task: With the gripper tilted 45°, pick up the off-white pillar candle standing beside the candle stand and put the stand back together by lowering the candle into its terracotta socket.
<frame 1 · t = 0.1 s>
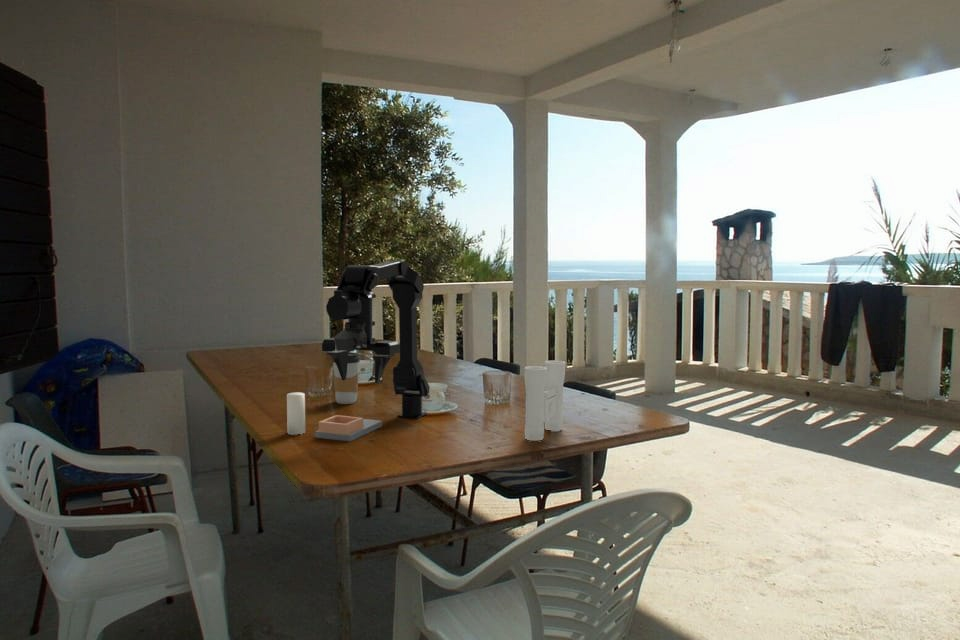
hand: (360, 381, 161), 15 cm above the table, tool pointing down, fingers open, 9 cm apart
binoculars: (544, 434, 170), on the table
candle: (296, 432, 169), on the table
coffee cup: (346, 402, 206), on the table
candle stand: (349, 431, 170), on the table
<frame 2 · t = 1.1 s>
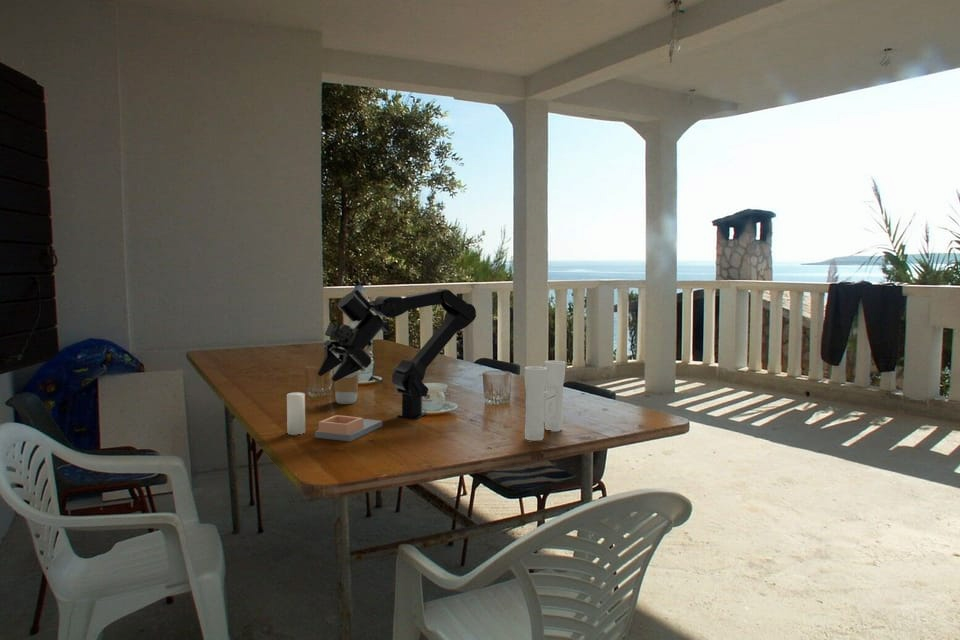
hand: (325, 377, 172), 13 cm above the table, tool tilted 45°, fingers open, 9 cm apart
nothing on the table moved.
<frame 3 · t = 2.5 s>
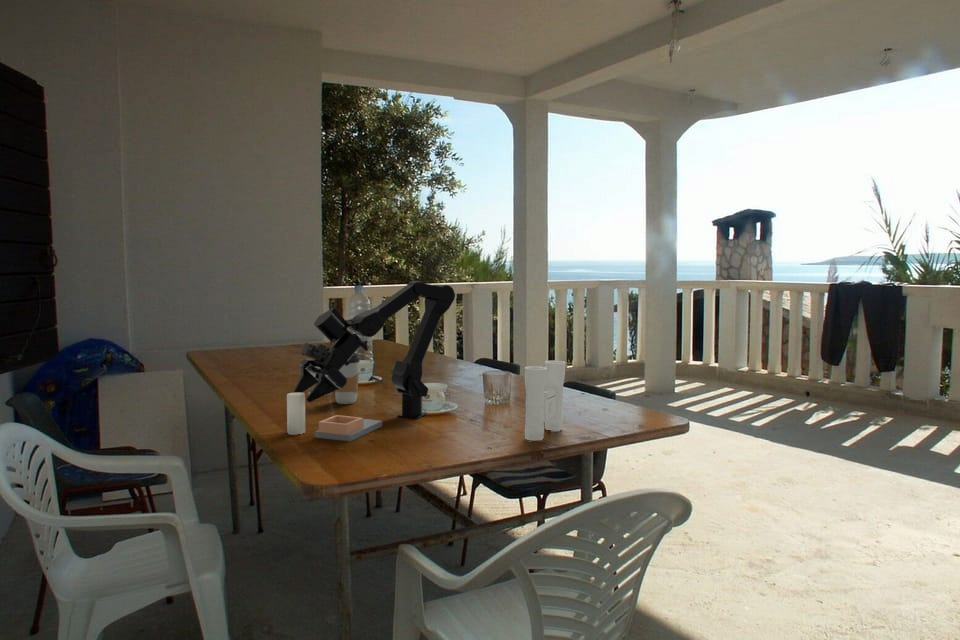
hand: (300, 397, 169), 9 cm above the table, tool tilted 45°, fingers open, 9 cm apart
nothing on the table moved.
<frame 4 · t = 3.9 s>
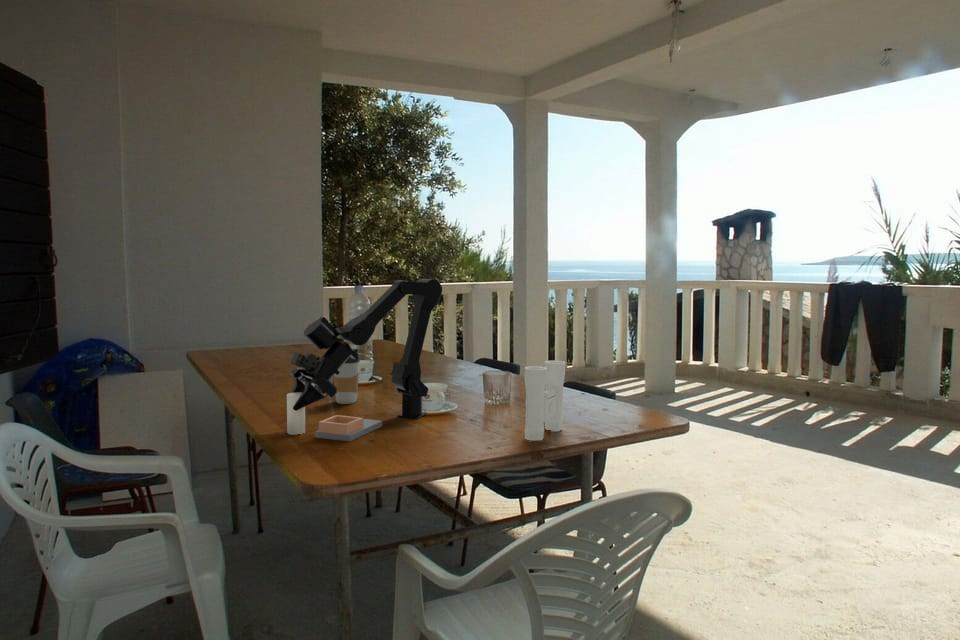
hand: (290, 407, 167), 7 cm above the table, tool tilted 45°, fingers closed on candle, 4 cm apart
candle: (296, 432, 169), on the table, touching gripper
everything else where it was.
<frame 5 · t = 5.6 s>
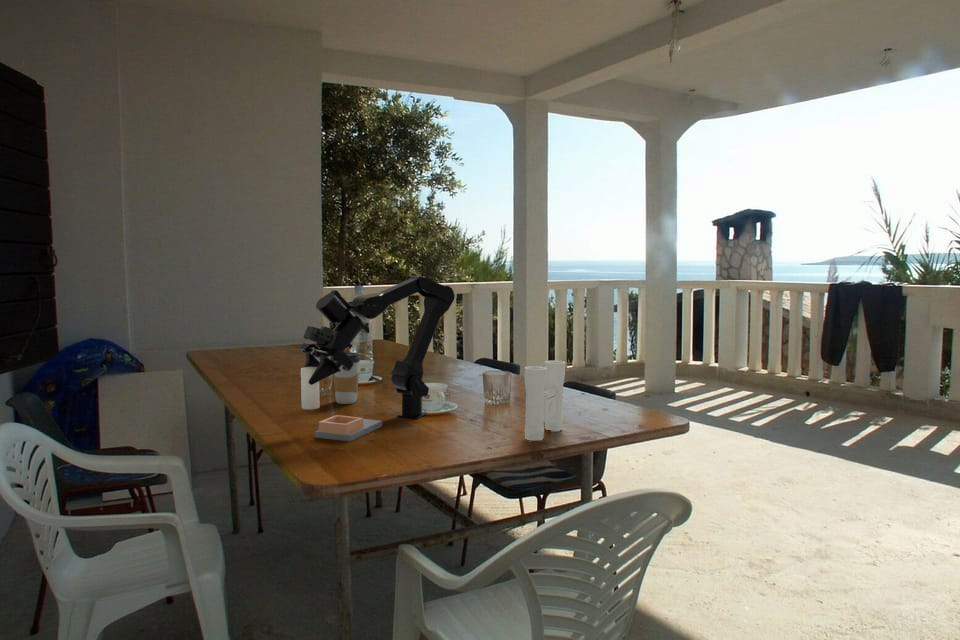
hand: (305, 382, 166), 13 cm above the table, tool tilted 45°, fingers closed on candle, 4 cm apart
candle: (310, 407, 167), point 7 cm above the table, touching gripper
everything else where it was.
when the fingers open (9 cm above the table, at t = 7.4 s): candle drops 1 cm, resting on candle stand.
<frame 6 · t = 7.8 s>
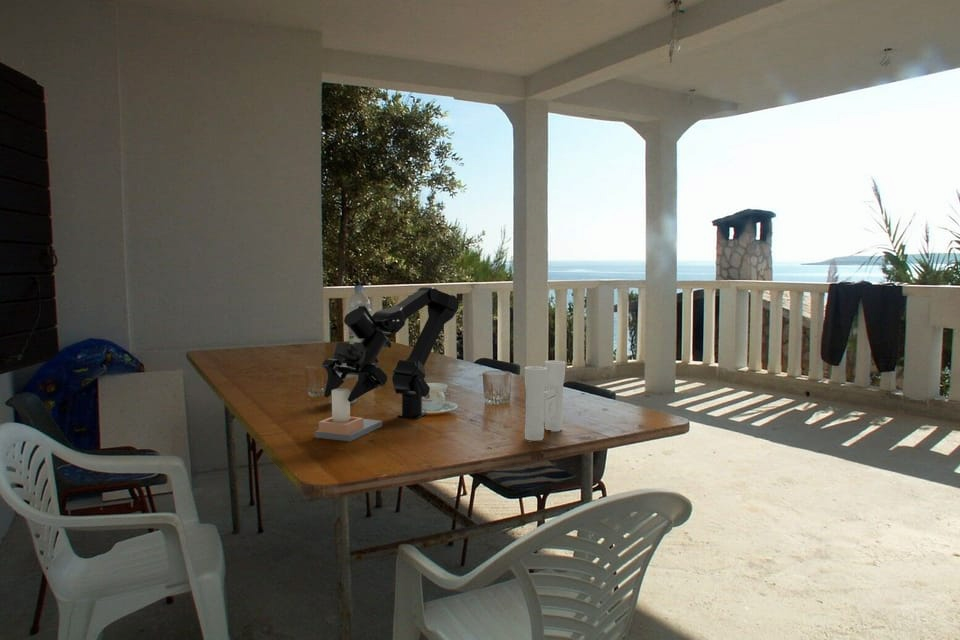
hand: (337, 398, 165), 10 cm above the table, tool tilted 45°, fingers open, 8 cm apart
candle: (341, 429, 167), point 2 cm above the table, touching candle stand
everything else where it was.
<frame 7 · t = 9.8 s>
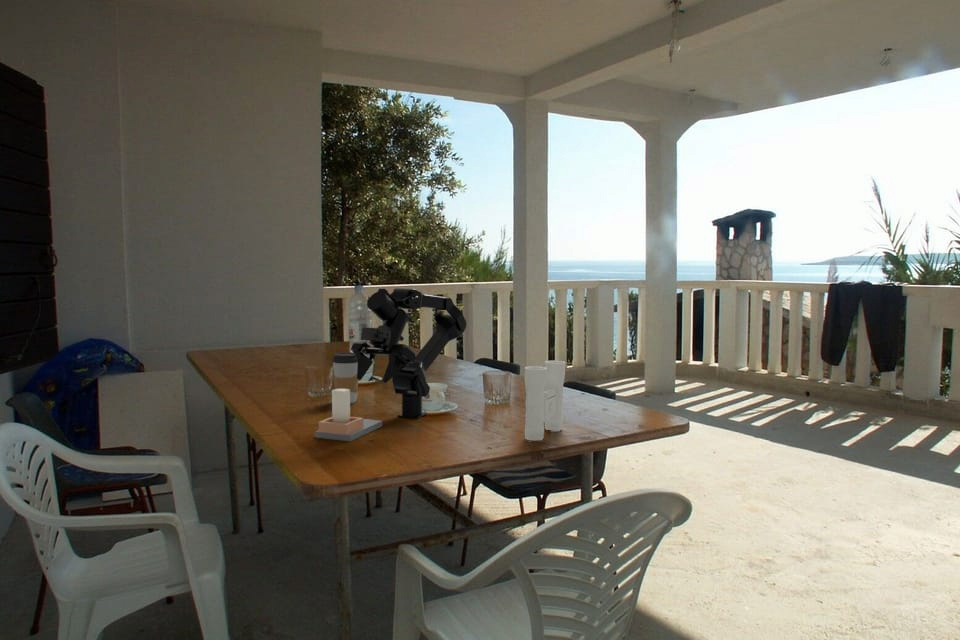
hand: (371, 381, 172), 13 cm above the table, tool tilted 35°, fingers open, 9 cm apart
nothing on the table moved.
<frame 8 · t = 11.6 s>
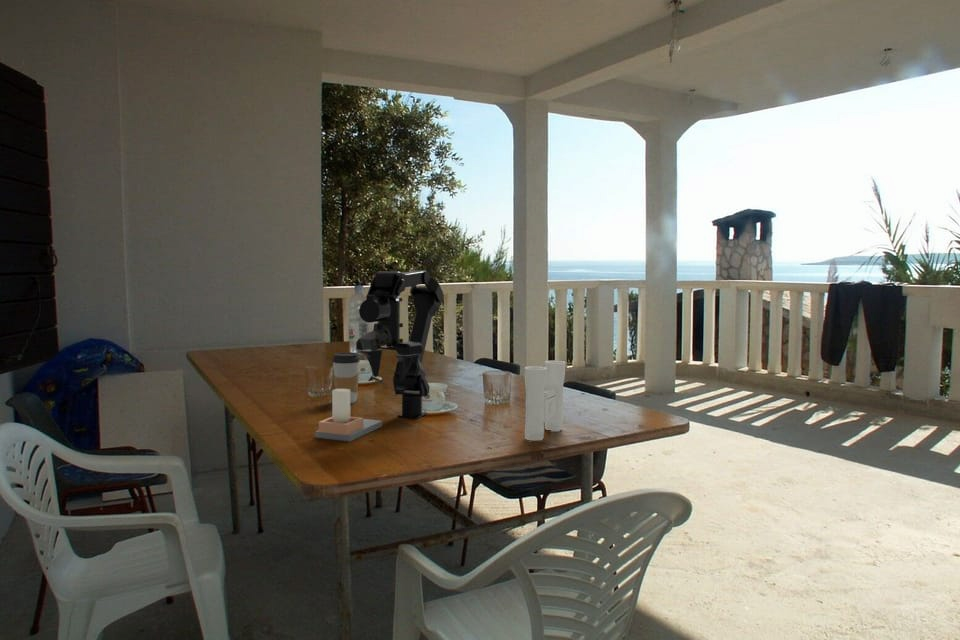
hand: (388, 378, 174), 13 cm above the table, tool pointing down, fingers open, 9 cm apart
nothing on the table moved.
at the end: candle 0.0 cm from the target spot on the candle stand, point 1.5 cm above the candle stand's base; candle tilted 1°; the gripper is holding nothing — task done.
